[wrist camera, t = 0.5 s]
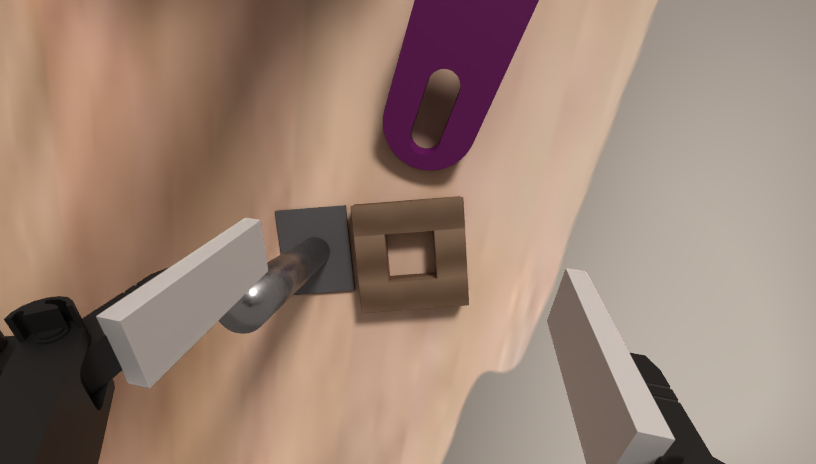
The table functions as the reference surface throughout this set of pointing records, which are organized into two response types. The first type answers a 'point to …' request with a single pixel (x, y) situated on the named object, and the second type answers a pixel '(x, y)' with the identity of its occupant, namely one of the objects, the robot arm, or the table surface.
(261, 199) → the table surface
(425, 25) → the mounting bracket
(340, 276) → the mat
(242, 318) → the peg
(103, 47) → the table surface
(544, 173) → the table surface
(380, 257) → the collar
